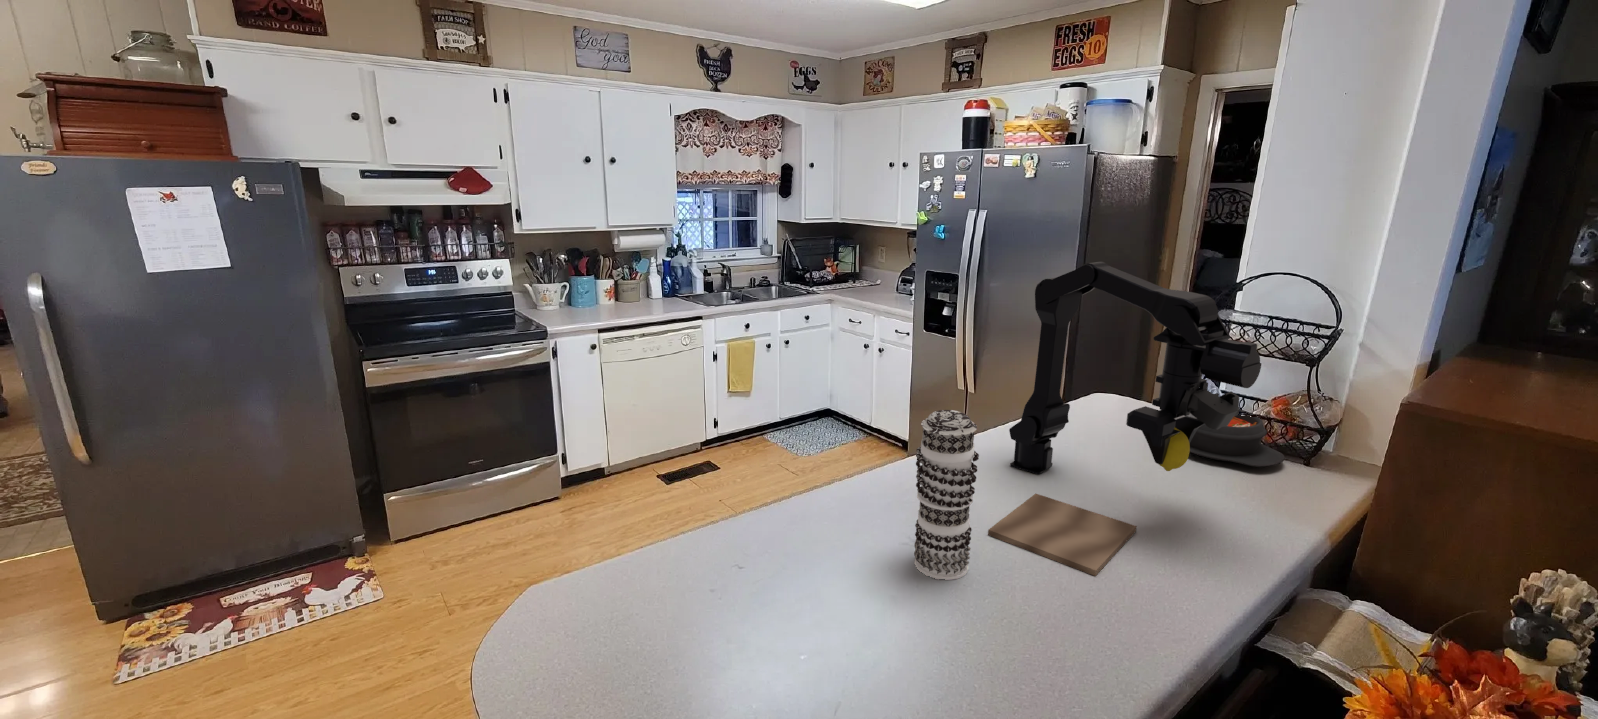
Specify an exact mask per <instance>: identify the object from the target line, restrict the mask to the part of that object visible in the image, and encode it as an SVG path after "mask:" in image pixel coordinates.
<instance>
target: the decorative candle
mask: <svg viewBox="0 0 1598 719" xmlns="http://www.w3.org/2000/svg"><path fill="white" fill-rule="evenodd" d="M920 426H921V427H922V438H921V440H920V441H921V443H920V446H919V447H917V448H916V451H915V452H916V453H915V457H916V461H915V466H916V467H917V470H916V476H915V478H916V484H915V487H916V488H917V493H916V494H917V495H916V497H917V499H918V501H919V509H918V511H917V512H918V513H917V514H918V515H917V520H916V522H915V529H916V530H915V531H916V532H915V533H914V536H915V538H916V539H915V541H914V543H913V544H914V546H913V547H914V549H915V550H914V553H913V555H914V564H915V565H916V566H915V565H914V566H915V568H916V567H917V568H916V569H918V570H919V571H920V573H921V572H922V573H924V574H925V575H926V577H928V576H931V577H933V578H932V579H934V578H935V580H939V579H945V580H944V581H952V580H958V579H960V578H962V577H965V575H967V573H968V572H969V571H970V570H969V564H970V562H969V560H970V559H971V557H970V552H969V551H971V547H970V546H969V545H970V544H971V540H972V537H971V534H972V533H971V532H972V530H973V529H972V527H971V525H970V523H971V516H970V506H971V504H972V503H973V502H974V497H973V495H974V494H975V493H976V492H975V490H976V489H975V487H974V486H973V485H972V484H973V483H976V482H977V476H976V475H975V473H977V472H978V465H976V464H975V463H974V462H976V461H978V460H980V454H979V453H978V452H977V451H976V450H975V443H974V439H975V432H976V431H977V430H978V425H977V424H976V423H975V422H973V421H972V420H971V418H970V417H969V415H967V414H966V413H963V412H961V411H958V410H953V409H951V410H950V409H940V410H935V411H933V412H932V413H930V414H929V415H928V416H927V417H926V418H925V419H923V420H922V421H921V423H920ZM972 461H973V462H972ZM921 464H922V465H921ZM918 570H917V571H918ZM919 571H918V572H919ZM922 573H921V574H922ZM924 574H923V575H924ZM925 575H924V576H925ZM931 577H930V578H931Z"/></svg>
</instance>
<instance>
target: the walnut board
mask: <svg viewBox="0 0 1598 719" xmlns="http://www.w3.org/2000/svg"><path fill="white" fill-rule="evenodd" d="M1137 526H1138V525H1135V524H1132V523H1128V522H1126V521H1122V520H1120V519H1116V518H1113V517H1109V516H1106V515H1103V514H1101V513H1098V512H1095V511H1092V510H1088V509H1085V508H1082V507H1079V506H1076V505H1073V504H1071V503H1070V504H1069V503H1067V502H1064V501H1060V500H1057V499H1054V498H1051V497H1049V496H1045V495H1042V494H1038V493H1035V494H1033V495H1032V496H1030V497H1029V498H1028V499H1027V500H1025V501H1024V502H1023V503H1021V504H1019V505H1018V506H1017V507H1016V508H1015V509H1014V510H1012V511H1010V513H1008V514H1007V515H1005V516H1004V517H1003V518H1002V519H1001V520H999V521H998V522H996V523H995V524H994V525H993V526H991V527H990V528H988V530H987V536H990V537H992V538H995V539H997V540H1000V541H1002V542H1005V543H1007V544H1010V545H1013V546H1015V547H1018V548H1020V549H1024V550H1026V551H1028V552H1031V553H1034V554H1036V555H1039V556H1041V557H1045V558H1047V559H1049V560H1053V561H1054V562H1058V563H1060V564H1062V565H1065V566H1067V567H1070V568H1073V569H1075V570H1078V571H1081V572H1083V573H1086V574H1089V575H1091V576H1094V577H1096V576H1097V575H1098V574H1099V573H1100V572H1101V571H1102V569H1103V568H1104V567H1105V566H1107V564H1108V563H1109V562H1110V561H1111V559H1113V558H1114V557H1115V555H1116V554H1117V553H1118V552H1119V551H1120V550H1121V549H1122V547H1123V546H1124V545H1125V544H1127V542H1128V541H1129V540H1130V539H1131V538H1132V537H1133V536H1134V534H1135V533H1136V532H1137Z"/></svg>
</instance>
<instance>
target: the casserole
mask: <svg viewBox="0 0 1598 719" xmlns="http://www.w3.org/2000/svg"><path fill="white" fill-rule="evenodd" d="M1238 411H1241V412H1246V413H1248V414H1250V415H1253V414H1254V413H1253V412H1249V411H1246V410H1243V409H1240V408H1239V410H1238ZM1258 417H1259V416H1258ZM1258 417H1250V416H1241V415H1236V416H1234V417H1233V418H1232V420H1231V421H1230V423H1229V424H1228V426H1226V427H1225V426H1224V427H1221V428H1219V429H1218V430H1213V429H1211V428H1209V427H1207V426H1206V424H1205V425H1203V426H1201V427H1199V428H1198V429H1197V431H1196V433H1195V434H1194V436H1193V438H1192V440H1191V442H1190V444H1189V445H1190V453H1191V454H1193V455H1196V456H1199V457H1202V458H1204V459H1205V458H1206V459H1209V460H1210V459H1211V460H1214V461H1215V460H1216V461H1222V462H1233V463H1237V464H1241V465H1245V466H1248V467H1249V466H1250V467H1256V468H1263V467H1264V468H1265V467H1272V466H1276V465H1279V464H1281V463H1283V462H1284V461H1285V455H1284V454H1283V453H1282V452H1280V451H1278V450H1277V449H1274V448H1272V447H1270V446H1267V445H1265V444H1264V443H1262V442H1261V441H1262V439H1263V438H1264V437H1265V436H1267V433H1268V431H1267V429H1266V427H1264V422H1263V420H1262V418H1261V417H1259V418H1258ZM1260 418H1261V419H1260ZM1261 443H1262V444H1261Z"/></svg>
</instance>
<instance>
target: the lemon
mask: <svg viewBox="0 0 1598 719" xmlns="http://www.w3.org/2000/svg"><path fill="white" fill-rule="evenodd" d="M1174 430H1177V431H1180V430H1178V429H1177V428H1176V427H1175V428H1174ZM1190 453H1191V452H1190V445H1189V440H1188V438H1187V436H1186V435H1185V434H1184V433H1183V432H1182V431H1180V433H1178V434H1176V435H1175V436H1173V437H1171V439H1170V442H1169V446H1168V449H1167V453H1166V456H1165V459H1164V462H1163V464H1161V465H1160V464H1158V465H1159V466H1160V467H1162V468H1163V469H1164V470H1165V471H1166V472H1170V471H1172V470H1177V469H1179V468H1181V467H1183V466H1184V465H1185V464H1186V462H1187V460H1188V459H1189V456H1190Z"/></svg>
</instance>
